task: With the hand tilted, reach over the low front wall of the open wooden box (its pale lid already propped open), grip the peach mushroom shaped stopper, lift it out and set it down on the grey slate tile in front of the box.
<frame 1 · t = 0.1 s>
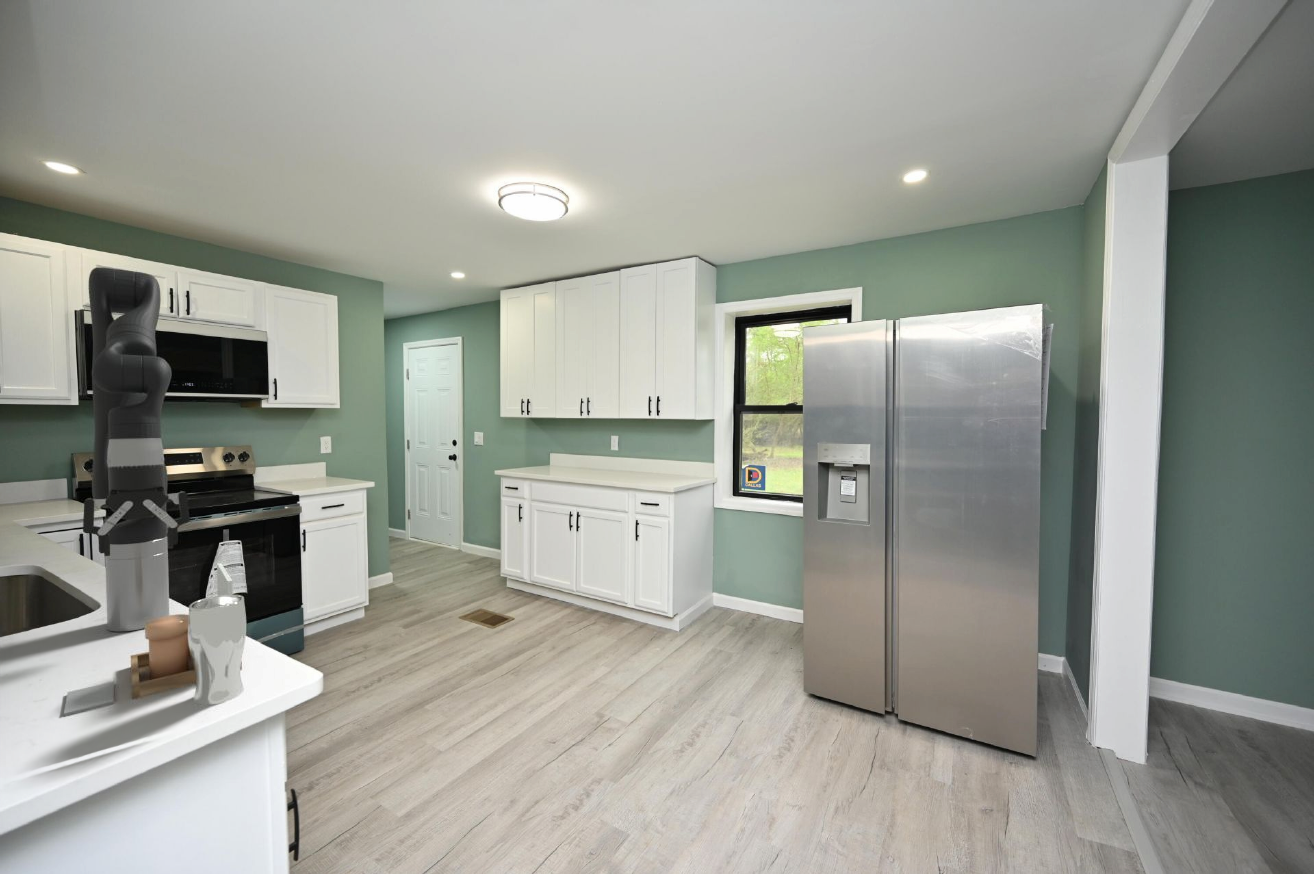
hand: (139, 551, 103), 17 cm above the counter, tool pointing down, fingers open, 8 cm apart
open wooden box: (169, 676, 91), on the counter
tile: (90, 703, 83), on the counter
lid: (224, 597, 96), point 12 cm above the counter
peach mushroom shaped stopper: (169, 675, 90), point 1 cm above the counter, touching open wooden box
beer glass: (219, 700, 85), on the counter
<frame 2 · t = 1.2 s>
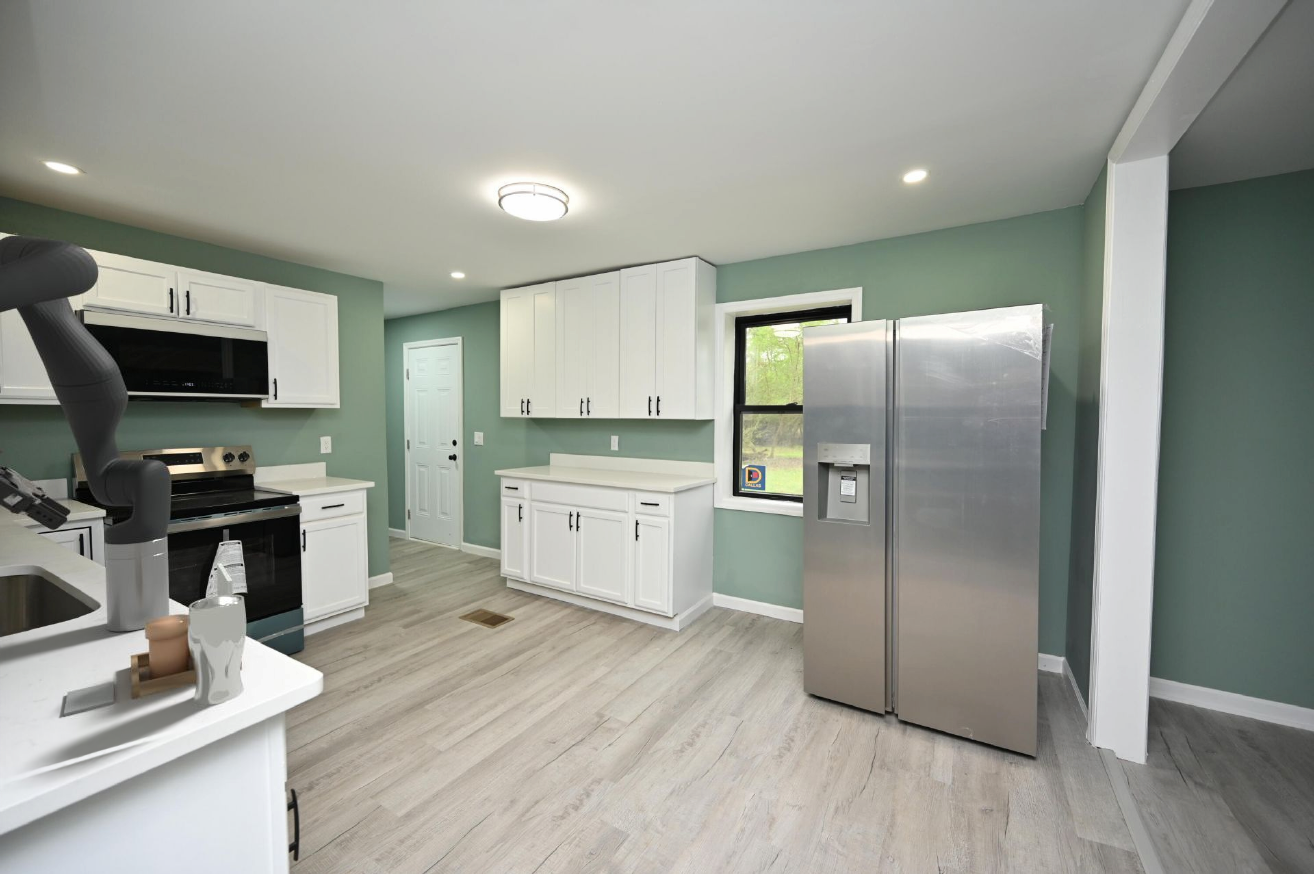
hand: (63, 520, 84), 27 cm above the counter, tool tilted 45°, fingers open, 8 cm apart
nothing on the counter moved.
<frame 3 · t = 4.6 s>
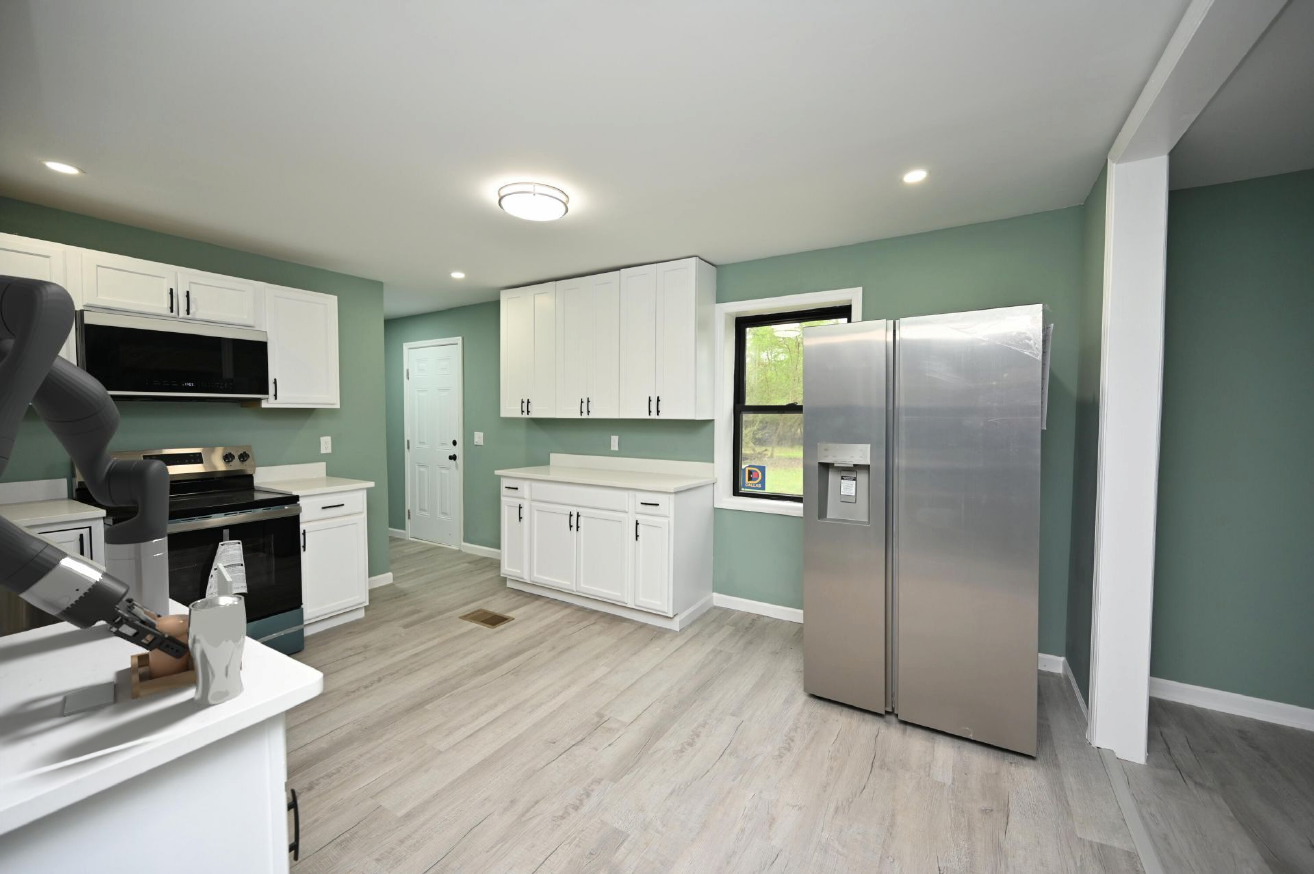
hand: (183, 646, 92), 5 cm above the counter, tool tilted 45°, fingers closed on peach mushroom shaped stopper, 5 cm apart
peach mushroom shaped stopper: (169, 675, 90), point 1 cm above the counter, touching open wooden box, gripper
everything else where it was.
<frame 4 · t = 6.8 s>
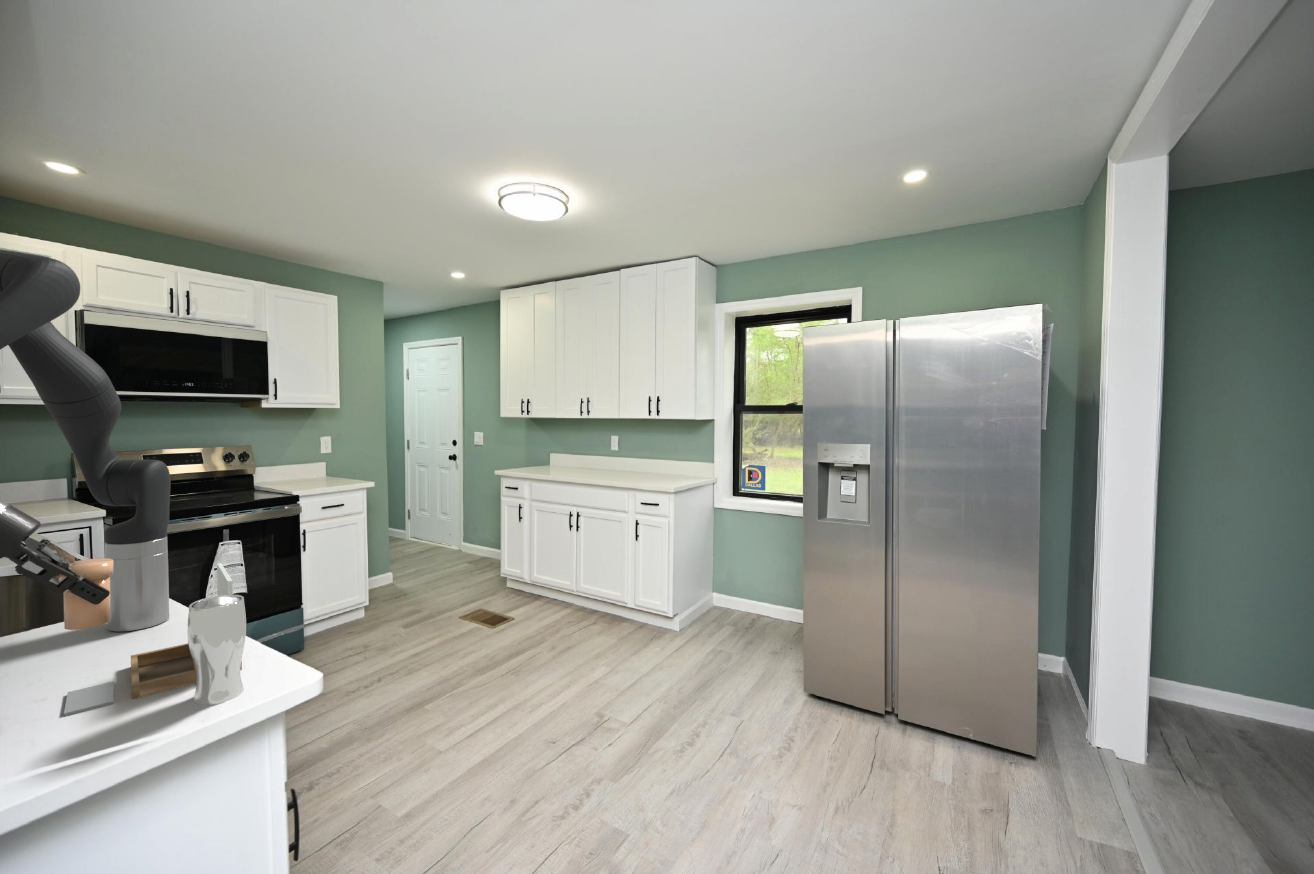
hand: (104, 593, 83), 16 cm above the counter, tool tilted 45°, fingers closed on peach mushroom shaped stopper, 5 cm apart
peach mushroom shaped stopper: (88, 623, 82), point 12 cm above the counter, touching gripper
everything else where it was.
when the fingers open (6 cm above the counter, at t = 9.1 s): peach mushroom shaped stopper moves 1 cm, resting on tile.
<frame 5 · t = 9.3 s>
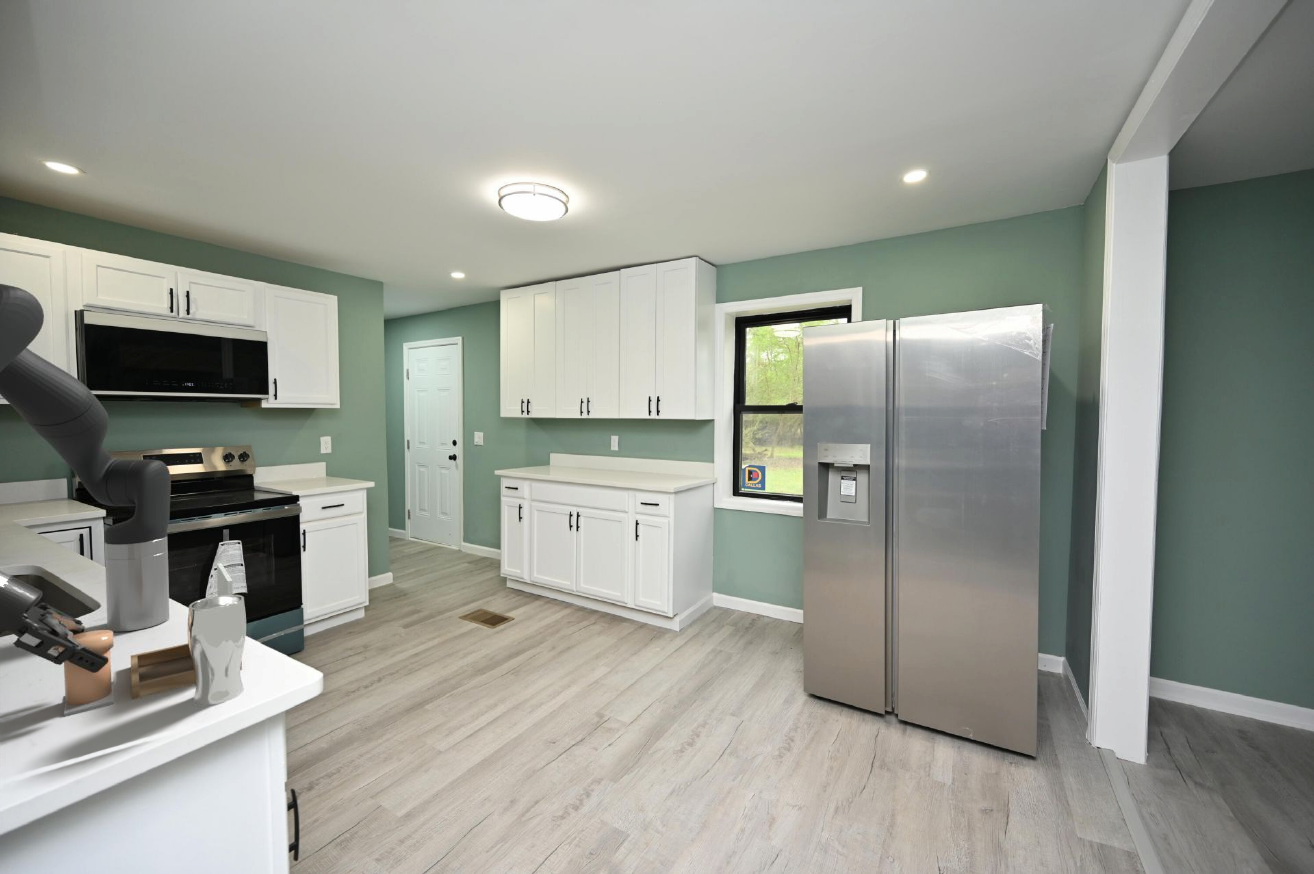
hand: (103, 657, 84), 6 cm above the counter, tool tilted 45°, fingers open, 7 cm apart
peach mushroom shaped stopper: (89, 696, 83), point 1 cm above the counter, touching tile
everything else where it was.
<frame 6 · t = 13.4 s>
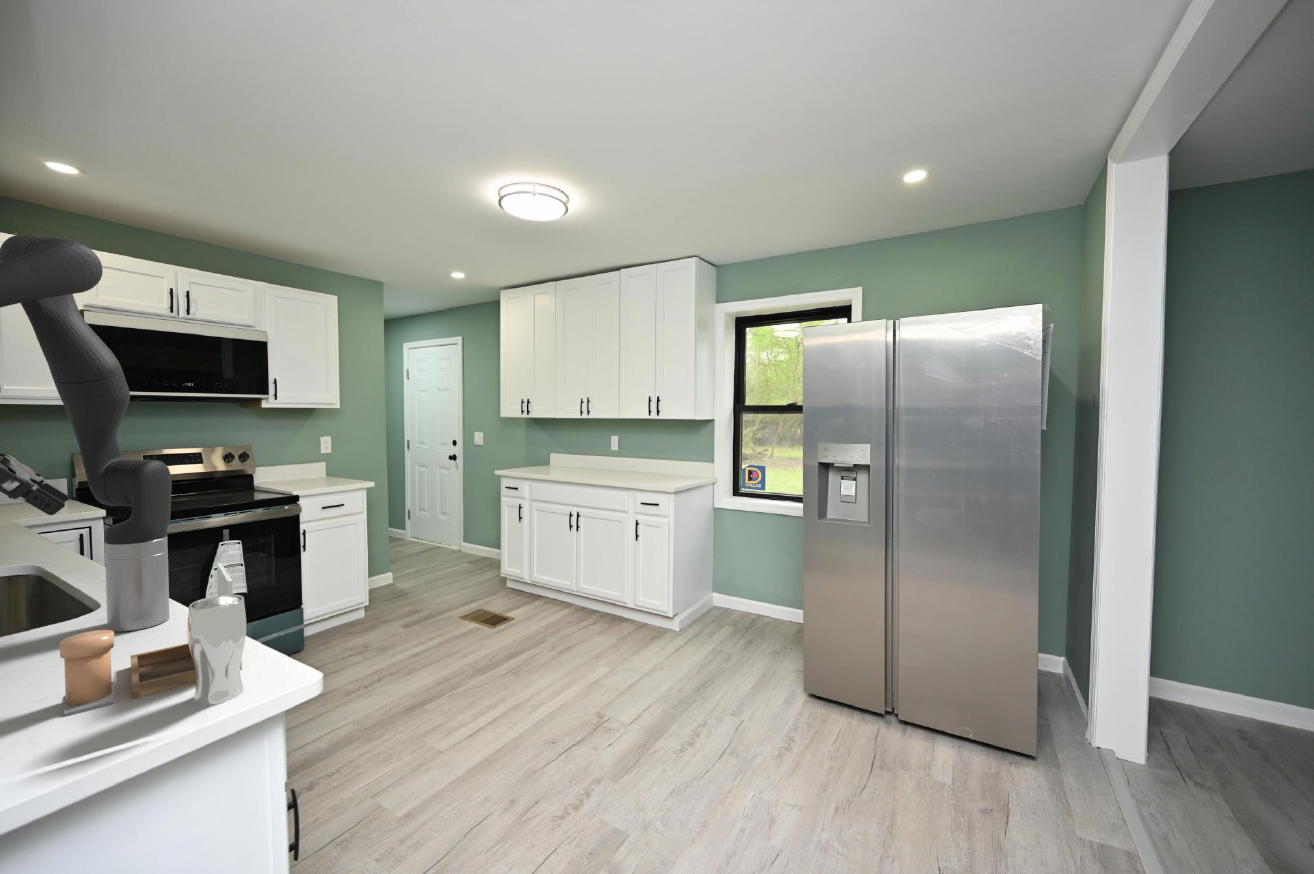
hand: (61, 506, 85), 29 cm above the counter, tool tilted 45°, fingers open, 8 cm apart
nothing on the counter moved.
at the end: peach mushroom shaped stopper inside the target area on the tile (0.1 cm from its centre), point 1.0 cm above the tile's base; peach mushroom shaped stopper tilted 0°; the gripper is holding nothing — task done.
